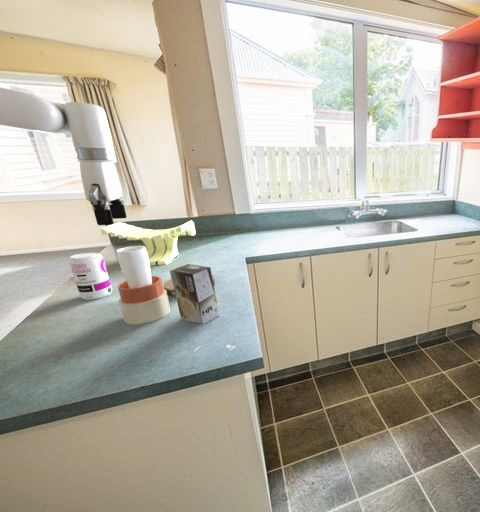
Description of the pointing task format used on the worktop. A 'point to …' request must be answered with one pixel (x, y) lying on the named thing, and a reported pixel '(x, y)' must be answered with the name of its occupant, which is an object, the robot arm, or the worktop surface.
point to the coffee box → (195, 293)
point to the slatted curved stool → (153, 239)
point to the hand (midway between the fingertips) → (113, 221)
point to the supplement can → (90, 275)
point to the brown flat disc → (170, 289)
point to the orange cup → (141, 291)
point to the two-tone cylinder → (145, 310)
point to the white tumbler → (135, 266)
